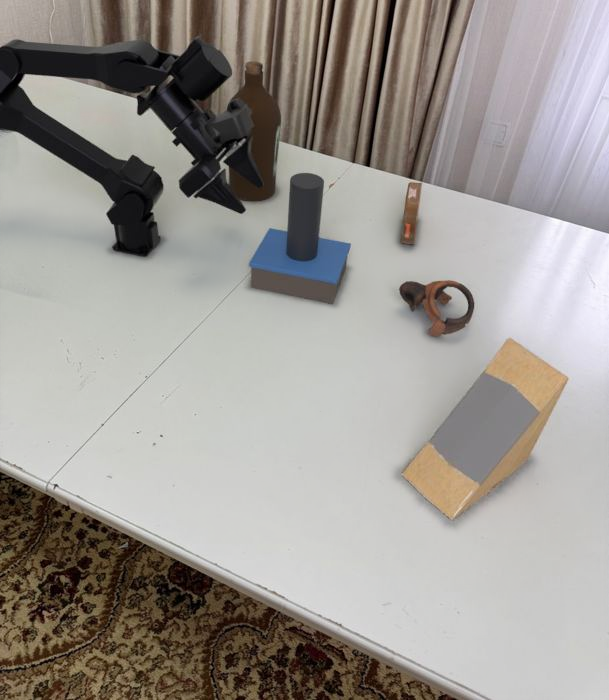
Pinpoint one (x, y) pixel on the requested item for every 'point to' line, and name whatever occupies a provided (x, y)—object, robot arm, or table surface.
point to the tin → (411, 213)
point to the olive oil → (259, 135)
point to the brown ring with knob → (428, 294)
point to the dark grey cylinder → (304, 216)
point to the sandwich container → (488, 430)
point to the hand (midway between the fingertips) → (253, 198)
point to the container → (299, 268)
